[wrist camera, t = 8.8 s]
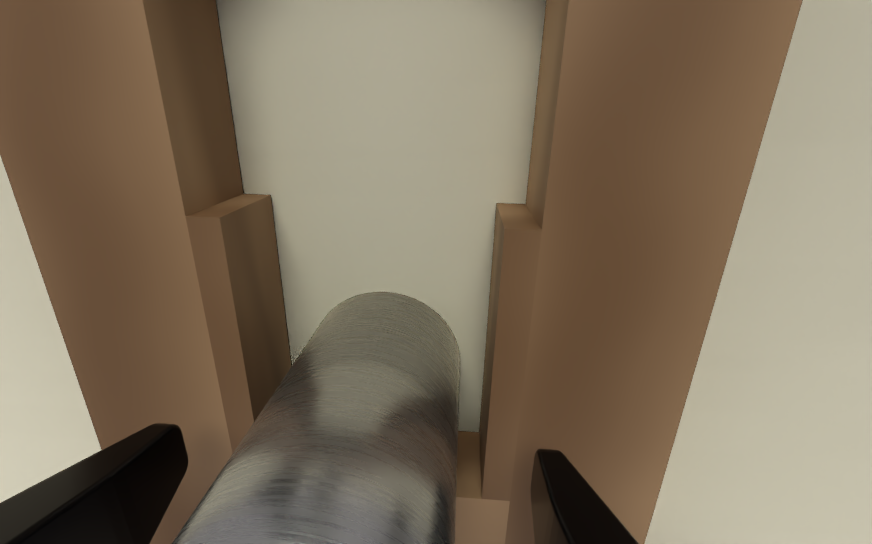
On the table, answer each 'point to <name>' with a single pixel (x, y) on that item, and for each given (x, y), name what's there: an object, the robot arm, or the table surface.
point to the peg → (349, 438)
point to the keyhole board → (512, 250)
